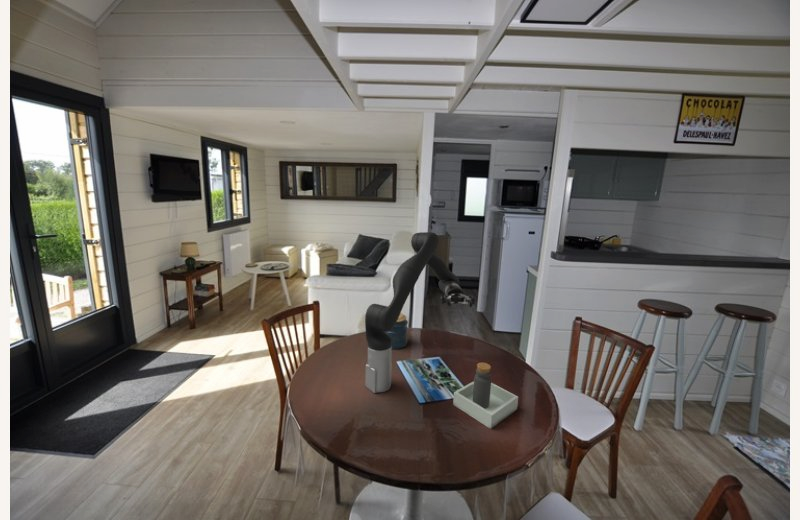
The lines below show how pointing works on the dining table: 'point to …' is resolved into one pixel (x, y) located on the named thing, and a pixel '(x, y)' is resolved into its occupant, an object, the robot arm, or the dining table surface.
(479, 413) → the bin
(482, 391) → the bottle
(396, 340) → the canister
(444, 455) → the dining table surface
